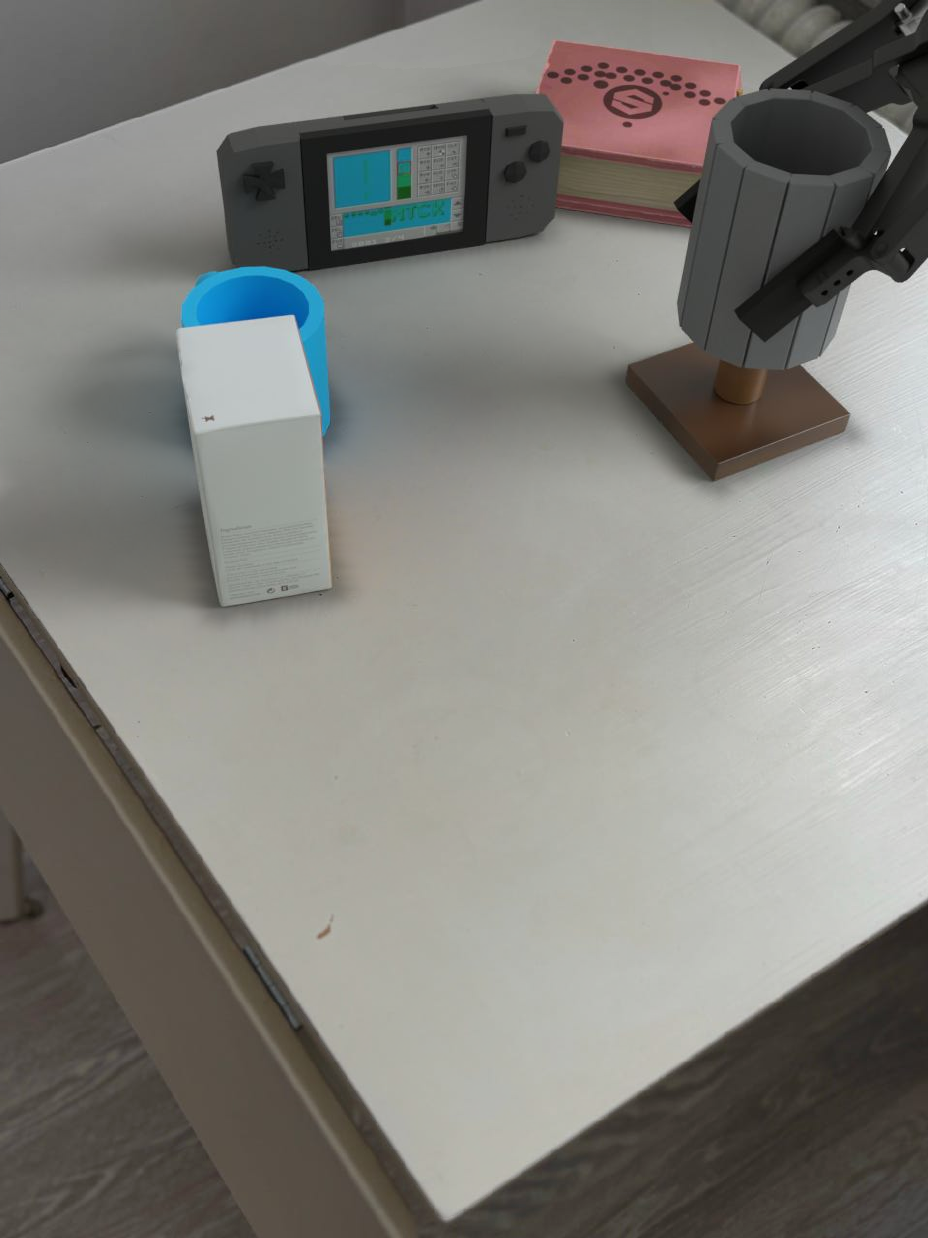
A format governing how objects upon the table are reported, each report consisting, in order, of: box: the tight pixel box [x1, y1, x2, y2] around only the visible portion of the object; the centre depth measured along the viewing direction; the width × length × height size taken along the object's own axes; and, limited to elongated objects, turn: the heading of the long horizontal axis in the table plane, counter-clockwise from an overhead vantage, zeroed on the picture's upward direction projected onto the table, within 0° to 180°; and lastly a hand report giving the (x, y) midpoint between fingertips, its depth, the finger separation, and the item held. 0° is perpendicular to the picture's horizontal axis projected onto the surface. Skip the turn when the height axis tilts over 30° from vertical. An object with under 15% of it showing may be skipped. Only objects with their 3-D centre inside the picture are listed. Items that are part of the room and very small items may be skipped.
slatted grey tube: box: [676, 88, 892, 370], centre depth 76 cm, size 9×9×12 cm
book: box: [535, 39, 744, 228], centre depth 101 cm, size 14×15×5 cm
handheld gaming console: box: [215, 93, 564, 272], centre depth 91 cm, size 23×3×10 cm, turn 107°
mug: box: [180, 266, 331, 437], centre depth 82 cm, size 12×8×8 cm
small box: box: [175, 315, 333, 607], centre depth 72 cm, size 8×6×13 cm
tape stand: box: [624, 341, 851, 482], centre depth 81 cm, size 10×10×14 cm
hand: (717, 270), depth 77 cm, fingers closed on slatted grey tube, 9 cm apart
